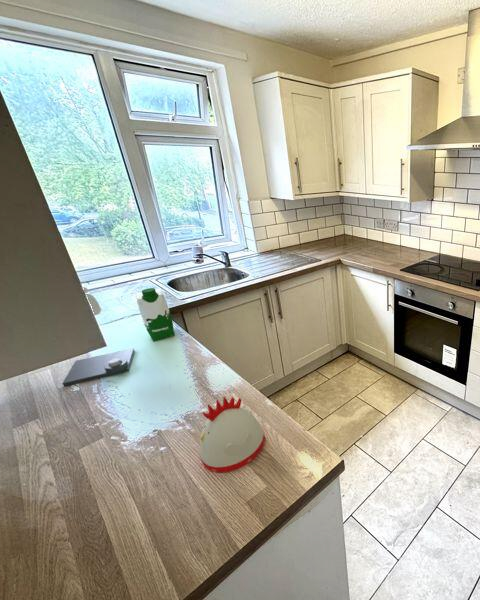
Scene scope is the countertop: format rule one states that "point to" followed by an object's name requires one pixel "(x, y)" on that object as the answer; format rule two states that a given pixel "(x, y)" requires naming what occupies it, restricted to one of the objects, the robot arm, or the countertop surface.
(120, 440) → the countertop surface
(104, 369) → the scale
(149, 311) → the milk carton
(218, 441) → the kitchen timer
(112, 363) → the tare button
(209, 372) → the countertop surface
